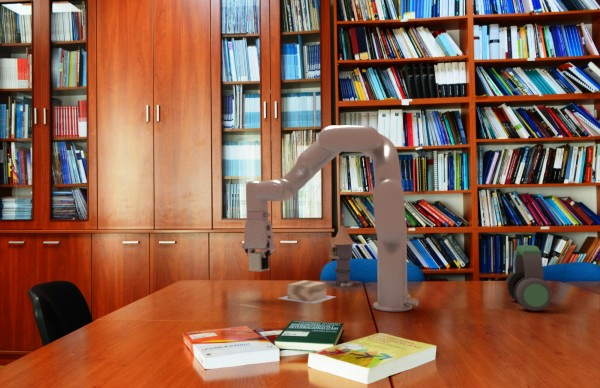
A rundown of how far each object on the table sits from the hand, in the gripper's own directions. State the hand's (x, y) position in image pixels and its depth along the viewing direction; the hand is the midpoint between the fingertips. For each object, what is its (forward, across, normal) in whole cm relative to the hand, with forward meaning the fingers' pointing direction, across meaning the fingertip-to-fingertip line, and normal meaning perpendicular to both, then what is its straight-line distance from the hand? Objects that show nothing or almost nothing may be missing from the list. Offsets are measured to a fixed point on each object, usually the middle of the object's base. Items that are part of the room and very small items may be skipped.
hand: (258, 267), depth 175 cm
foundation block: (+12, -10, -14) cm, 21 cm away
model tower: (+13, -5, -46) cm, 48 cm away
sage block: (+1, 0, 0) cm, 1 cm away
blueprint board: (+13, -10, -14) cm, 21 cm away
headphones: (+14, -77, -46) cm, 91 cm away
